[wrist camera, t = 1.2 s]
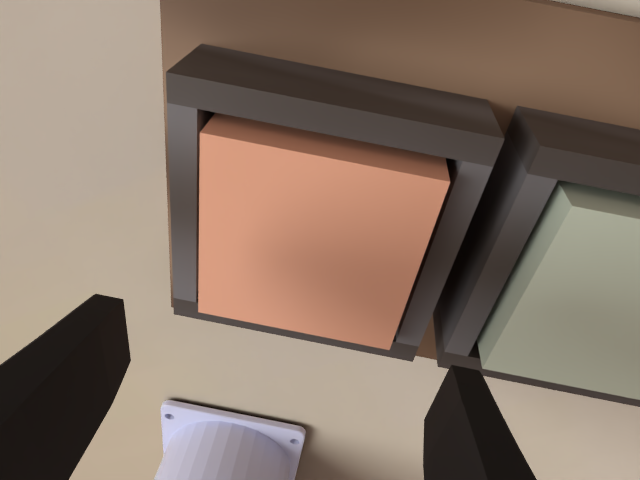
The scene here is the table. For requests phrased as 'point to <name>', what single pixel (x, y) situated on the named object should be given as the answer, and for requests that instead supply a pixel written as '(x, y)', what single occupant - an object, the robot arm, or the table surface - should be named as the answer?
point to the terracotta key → (312, 228)
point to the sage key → (573, 296)
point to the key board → (415, 127)
